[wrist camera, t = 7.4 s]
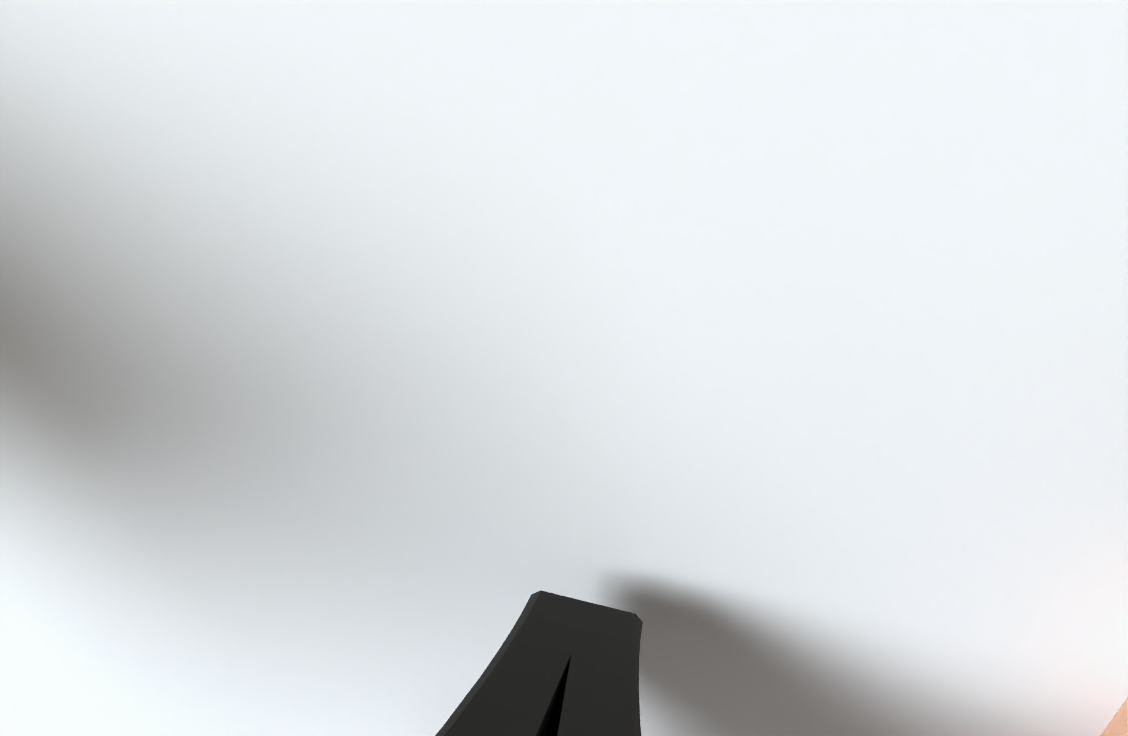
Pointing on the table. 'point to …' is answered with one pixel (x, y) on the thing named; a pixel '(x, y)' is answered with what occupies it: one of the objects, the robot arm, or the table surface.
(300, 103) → the table surface
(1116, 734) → the peach block
